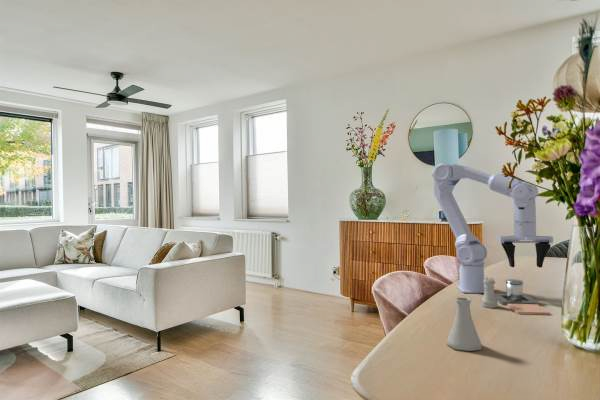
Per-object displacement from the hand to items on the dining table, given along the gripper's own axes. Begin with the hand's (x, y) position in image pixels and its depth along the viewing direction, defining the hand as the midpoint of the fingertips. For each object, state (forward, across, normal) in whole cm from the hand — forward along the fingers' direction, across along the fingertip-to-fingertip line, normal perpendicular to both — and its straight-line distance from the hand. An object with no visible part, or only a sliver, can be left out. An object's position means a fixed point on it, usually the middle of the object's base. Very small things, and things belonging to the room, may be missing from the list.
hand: (525, 266), depth 119 cm
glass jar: (+10, -4, -2) cm, 11 cm away
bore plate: (+10, -4, -2) cm, 11 cm away
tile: (+10, -4, -12) cm, 16 cm away
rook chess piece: (+10, -13, -9) cm, 19 cm away
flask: (+10, -27, -41) cm, 50 cm away
